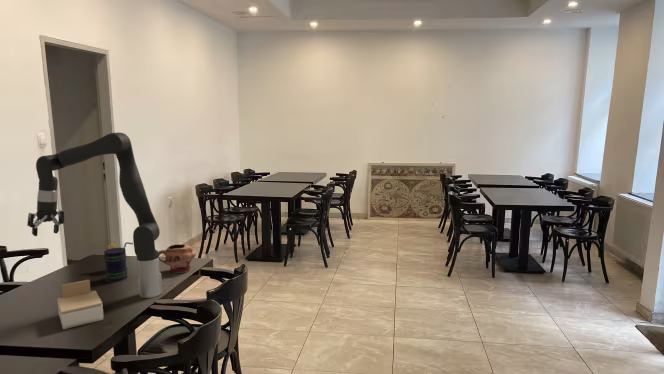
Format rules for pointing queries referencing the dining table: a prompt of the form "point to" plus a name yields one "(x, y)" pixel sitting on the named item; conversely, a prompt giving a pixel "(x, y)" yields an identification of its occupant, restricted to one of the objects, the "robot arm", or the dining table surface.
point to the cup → (115, 247)
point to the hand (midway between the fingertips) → (45, 234)
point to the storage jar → (115, 264)
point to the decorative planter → (178, 257)
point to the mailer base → (81, 316)
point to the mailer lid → (78, 297)
